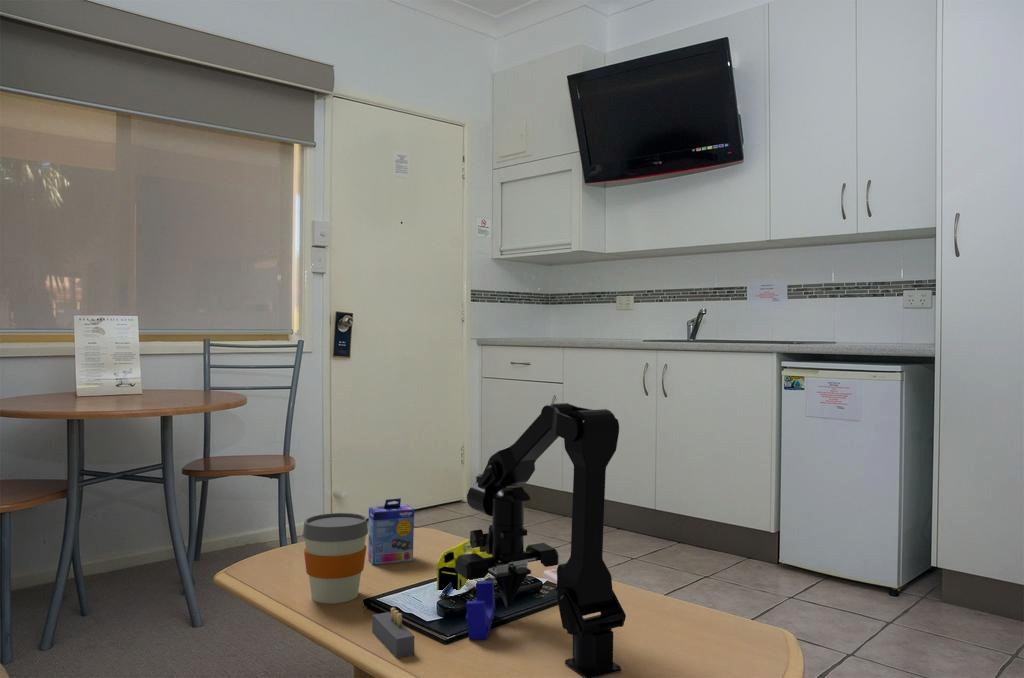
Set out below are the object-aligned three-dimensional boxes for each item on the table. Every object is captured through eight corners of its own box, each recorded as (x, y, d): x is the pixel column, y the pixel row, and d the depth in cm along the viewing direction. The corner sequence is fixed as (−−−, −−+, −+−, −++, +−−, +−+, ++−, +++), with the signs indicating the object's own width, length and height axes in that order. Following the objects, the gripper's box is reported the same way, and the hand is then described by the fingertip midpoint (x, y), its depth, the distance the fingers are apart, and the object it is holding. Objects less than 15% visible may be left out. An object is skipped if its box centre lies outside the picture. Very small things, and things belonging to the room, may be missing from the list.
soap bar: (562, 594, 149) (562, 582, 149) (542, 581, 158) (542, 569, 158) (585, 591, 152) (585, 579, 152) (564, 578, 160) (564, 567, 160)
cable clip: (471, 614, 137) (469, 581, 137) (495, 613, 136) (493, 580, 137) (460, 639, 125) (457, 604, 125) (486, 638, 124) (483, 602, 125)
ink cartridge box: (372, 566, 166) (373, 501, 166) (366, 559, 171) (367, 497, 171) (414, 561, 170) (415, 498, 171) (407, 554, 175) (408, 493, 176)
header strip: (415, 654, 119) (415, 623, 119) (396, 658, 117) (396, 626, 117) (389, 629, 129) (389, 600, 129) (372, 632, 128) (372, 603, 128)
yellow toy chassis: (471, 574, 161) (472, 536, 161) (495, 578, 159) (495, 539, 159) (434, 597, 146) (435, 555, 147) (460, 601, 144) (460, 558, 144)
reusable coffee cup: (319, 611, 138) (319, 530, 138) (291, 593, 147) (292, 518, 147) (378, 597, 146) (379, 521, 146) (349, 581, 155) (349, 509, 155)
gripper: (531, 506, 146) (530, 585, 147) (443, 517, 138) (443, 600, 138) (560, 520, 137) (559, 604, 137) (468, 532, 128) (467, 622, 128)
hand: (507, 607), depth 135 cm, fingers closed
